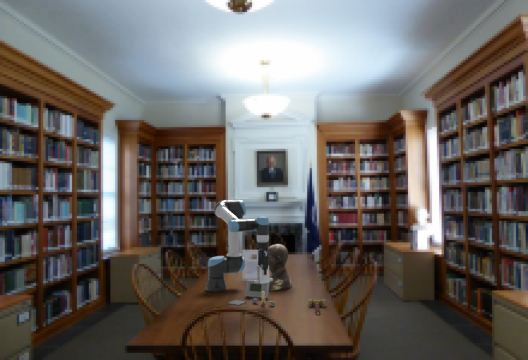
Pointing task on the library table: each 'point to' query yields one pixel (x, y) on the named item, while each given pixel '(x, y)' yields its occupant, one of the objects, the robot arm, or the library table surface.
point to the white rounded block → (260, 275)
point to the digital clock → (256, 289)
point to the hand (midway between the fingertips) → (263, 278)
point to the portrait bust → (278, 267)
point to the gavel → (317, 304)
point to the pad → (236, 302)
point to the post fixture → (263, 299)
